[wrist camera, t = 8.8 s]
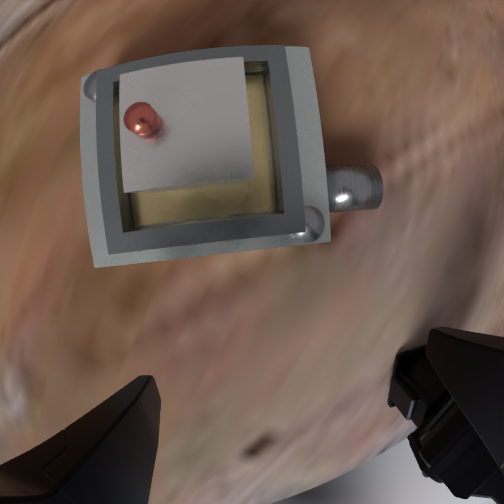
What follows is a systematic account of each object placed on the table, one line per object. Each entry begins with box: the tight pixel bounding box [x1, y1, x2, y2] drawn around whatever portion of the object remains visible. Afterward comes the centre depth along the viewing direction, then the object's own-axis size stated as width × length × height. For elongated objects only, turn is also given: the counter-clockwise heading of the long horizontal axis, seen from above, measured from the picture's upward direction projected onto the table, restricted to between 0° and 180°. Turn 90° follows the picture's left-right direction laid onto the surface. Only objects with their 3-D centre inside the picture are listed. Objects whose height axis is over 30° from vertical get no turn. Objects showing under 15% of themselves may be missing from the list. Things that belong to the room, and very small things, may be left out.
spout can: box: [119, 57, 254, 193], centre depth 11 cm, size 4×4×7 cm
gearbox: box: [80, 45, 383, 268], centre depth 16 cm, size 18×12×6 cm, turn 95°
